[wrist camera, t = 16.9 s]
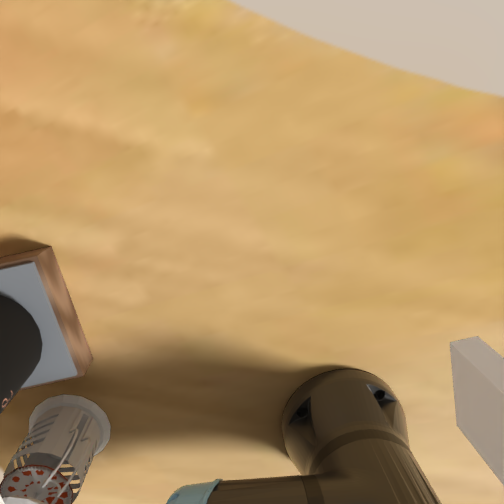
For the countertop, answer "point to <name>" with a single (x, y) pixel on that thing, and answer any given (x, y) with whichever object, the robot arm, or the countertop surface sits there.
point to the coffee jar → (16, 348)
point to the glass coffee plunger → (56, 451)
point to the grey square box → (47, 314)
